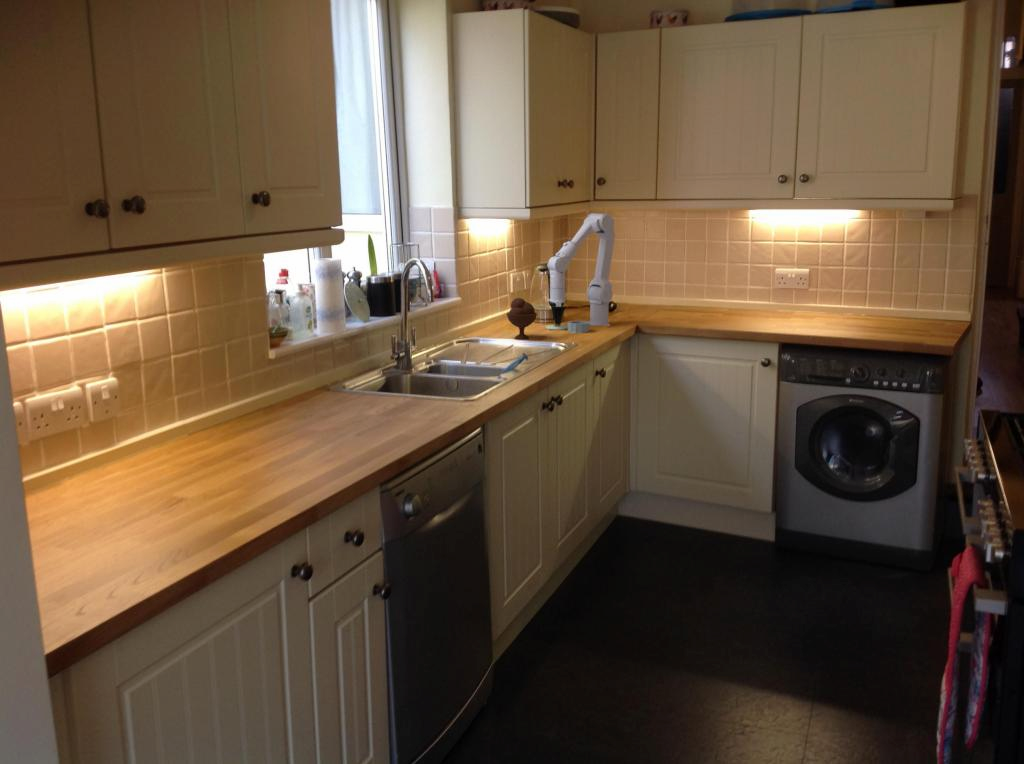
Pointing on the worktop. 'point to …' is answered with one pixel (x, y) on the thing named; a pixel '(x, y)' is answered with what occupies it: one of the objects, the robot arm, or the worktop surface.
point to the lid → (557, 327)
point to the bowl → (578, 326)
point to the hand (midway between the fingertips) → (557, 322)
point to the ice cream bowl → (521, 316)
